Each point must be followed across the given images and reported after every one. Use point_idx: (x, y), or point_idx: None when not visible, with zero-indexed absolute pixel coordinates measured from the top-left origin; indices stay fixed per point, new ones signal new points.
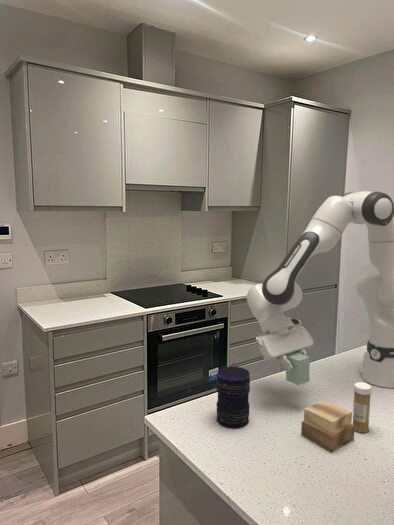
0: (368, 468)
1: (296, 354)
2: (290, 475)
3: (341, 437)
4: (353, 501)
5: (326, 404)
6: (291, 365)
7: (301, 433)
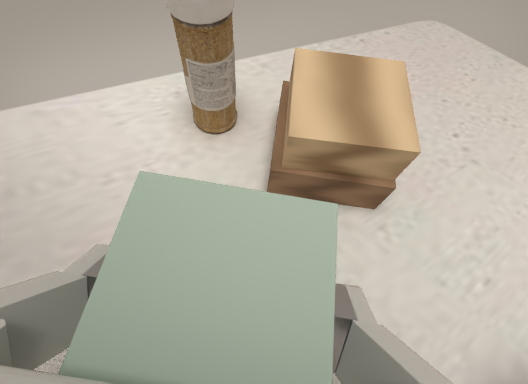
0: None
1: (153, 362)
2: (515, 146)
3: None
4: (451, 54)
5: (318, 114)
6: (357, 296)
7: (376, 205)
